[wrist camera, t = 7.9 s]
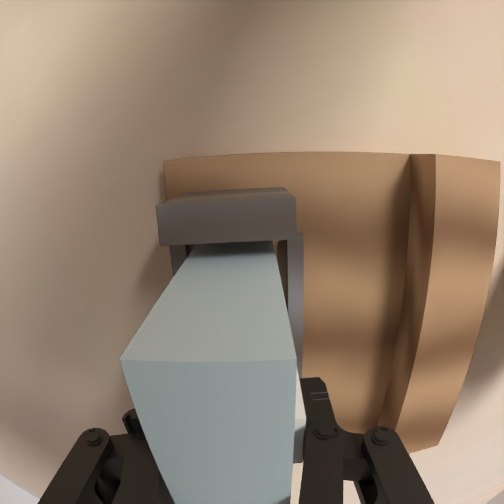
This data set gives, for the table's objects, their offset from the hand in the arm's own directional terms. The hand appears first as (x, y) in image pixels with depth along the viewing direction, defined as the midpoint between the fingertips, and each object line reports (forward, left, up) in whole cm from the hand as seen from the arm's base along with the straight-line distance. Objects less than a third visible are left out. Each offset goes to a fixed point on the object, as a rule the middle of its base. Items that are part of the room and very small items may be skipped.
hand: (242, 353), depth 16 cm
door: (0, 0, -1) cm, 1 cm away
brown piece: (0, +6, -3) cm, 6 cm away
